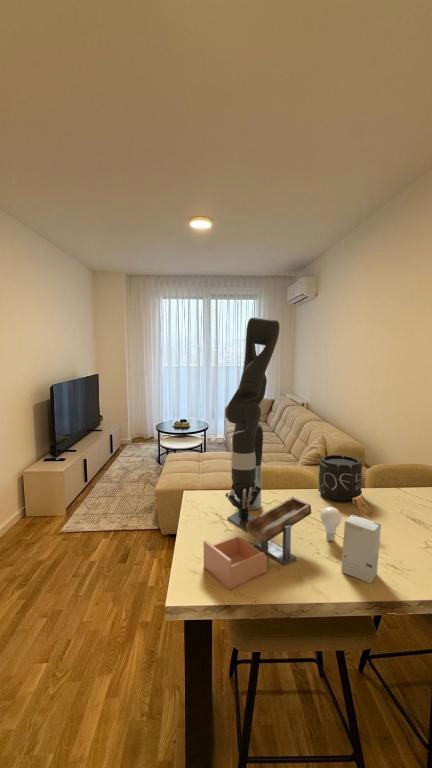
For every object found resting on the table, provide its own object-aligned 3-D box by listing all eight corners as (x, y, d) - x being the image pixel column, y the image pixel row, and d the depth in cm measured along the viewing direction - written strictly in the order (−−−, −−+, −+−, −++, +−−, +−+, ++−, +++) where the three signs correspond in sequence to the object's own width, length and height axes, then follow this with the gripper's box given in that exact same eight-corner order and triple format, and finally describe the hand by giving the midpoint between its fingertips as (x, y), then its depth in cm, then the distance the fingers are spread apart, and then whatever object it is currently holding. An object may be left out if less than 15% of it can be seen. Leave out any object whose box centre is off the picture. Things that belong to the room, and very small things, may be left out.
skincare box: (341, 572, 100) (342, 520, 99) (348, 562, 105) (350, 513, 103) (372, 584, 95) (374, 530, 93) (379, 574, 99) (381, 522, 98)
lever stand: (266, 541, 117) (266, 510, 116) (296, 560, 106) (297, 525, 105) (254, 546, 114) (254, 514, 113) (284, 565, 103) (285, 530, 102)
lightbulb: (340, 537, 119) (341, 505, 118) (340, 546, 113) (341, 513, 112) (320, 534, 121) (321, 502, 120) (319, 543, 115) (320, 510, 114)
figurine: (378, 531, 123) (379, 497, 122) (364, 535, 121) (365, 500, 120) (360, 521, 130) (361, 489, 130) (346, 524, 128) (347, 491, 127)
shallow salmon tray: (203, 568, 102) (203, 540, 102) (239, 553, 110) (239, 528, 109) (229, 590, 93) (229, 560, 92) (266, 572, 100) (266, 545, 99)
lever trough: (272, 495, 127) (271, 487, 127) (311, 513, 113) (310, 504, 112) (227, 520, 116) (226, 511, 116) (264, 543, 102) (263, 533, 101)
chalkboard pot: (341, 508, 142) (342, 469, 140) (309, 492, 158) (310, 457, 156) (372, 499, 150) (374, 462, 149) (339, 485, 166) (340, 452, 165)
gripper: (251, 458, 119) (251, 509, 120) (219, 466, 111) (219, 520, 113) (267, 464, 113) (267, 517, 114) (234, 472, 105) (234, 529, 107)
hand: (243, 519), depth 114 cm, fingers closed
